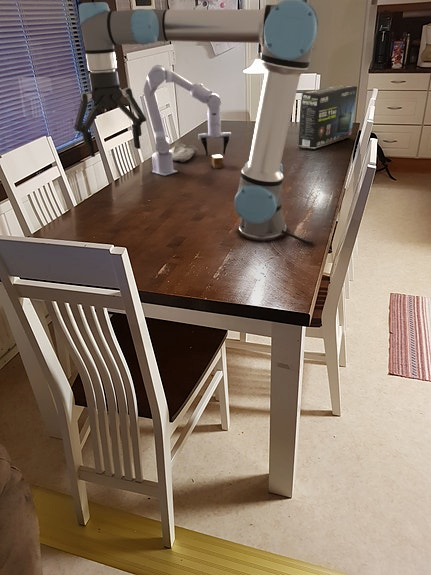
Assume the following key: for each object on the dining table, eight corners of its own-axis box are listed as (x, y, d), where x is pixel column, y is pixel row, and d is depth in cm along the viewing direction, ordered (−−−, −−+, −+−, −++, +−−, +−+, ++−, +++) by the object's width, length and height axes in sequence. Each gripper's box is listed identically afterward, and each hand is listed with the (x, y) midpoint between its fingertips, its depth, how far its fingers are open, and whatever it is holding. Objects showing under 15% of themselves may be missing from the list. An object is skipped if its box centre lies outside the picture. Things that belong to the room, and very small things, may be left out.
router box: (314, 151, 231) (318, 94, 217) (296, 148, 237) (299, 92, 224) (352, 138, 251) (358, 85, 238) (335, 135, 258) (340, 83, 245)
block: (220, 164, 217) (220, 154, 215) (223, 167, 213) (222, 157, 211) (212, 165, 217) (211, 155, 214) (214, 168, 212) (214, 158, 210)
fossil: (184, 156, 217) (163, 136, 220) (174, 174, 223) (154, 154, 227) (205, 153, 231) (186, 134, 234) (195, 171, 237) (176, 152, 240)
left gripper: (229, 120, 204) (230, 151, 211) (197, 122, 203) (199, 153, 210) (231, 123, 198) (232, 155, 205) (198, 125, 197) (199, 157, 204)
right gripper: (141, 65, 129) (150, 142, 140) (52, 74, 119) (69, 156, 130) (152, 67, 124) (160, 147, 134) (58, 76, 113) (76, 162, 124)
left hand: (215, 154), depth 207 cm, fingers open, 7 cm apart
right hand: (115, 151), depth 132 cm, fingers open, 13 cm apart
